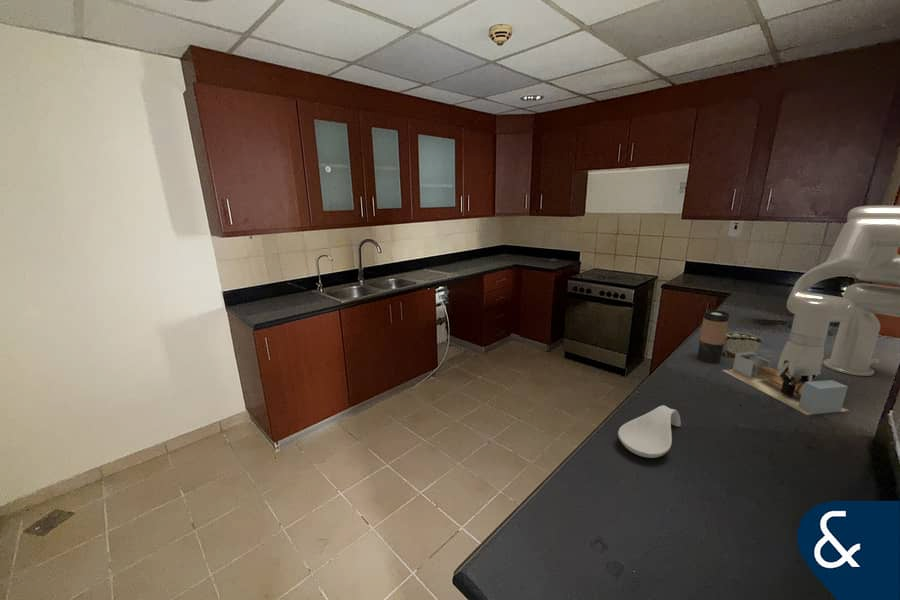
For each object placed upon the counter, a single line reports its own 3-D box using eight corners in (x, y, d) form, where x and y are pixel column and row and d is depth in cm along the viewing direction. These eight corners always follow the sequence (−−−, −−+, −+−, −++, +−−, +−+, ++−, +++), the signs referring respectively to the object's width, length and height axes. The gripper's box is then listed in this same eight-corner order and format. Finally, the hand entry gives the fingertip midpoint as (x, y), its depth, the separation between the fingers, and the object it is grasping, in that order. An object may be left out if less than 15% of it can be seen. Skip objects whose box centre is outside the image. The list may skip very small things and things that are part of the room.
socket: (825, 404, 108) (832, 379, 106) (840, 411, 104) (847, 386, 102) (798, 406, 107) (804, 382, 105) (812, 414, 103) (819, 388, 101)
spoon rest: (656, 473, 84) (660, 446, 82) (608, 448, 93) (610, 423, 91) (693, 432, 98) (697, 409, 97) (648, 414, 107) (651, 392, 105)
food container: (752, 356, 144) (756, 332, 142) (759, 362, 139) (764, 338, 136) (715, 353, 148) (719, 330, 146) (721, 358, 143) (725, 335, 140)
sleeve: (749, 369, 131) (752, 351, 129) (767, 378, 124) (771, 359, 122) (732, 370, 130) (735, 352, 129) (750, 379, 124) (754, 360, 122)
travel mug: (724, 366, 136) (733, 316, 131) (701, 365, 137) (710, 315, 132) (714, 358, 143) (722, 310, 138) (692, 357, 145) (700, 309, 139)
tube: (756, 377, 122) (759, 365, 121) (767, 376, 123) (770, 364, 122) (813, 405, 105) (817, 392, 104) (826, 404, 106) (830, 391, 104)
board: (756, 370, 133) (757, 367, 132) (849, 413, 105) (850, 410, 104) (721, 372, 131) (722, 370, 131) (805, 417, 103) (806, 414, 103)
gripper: (818, 333, 113) (804, 386, 117) (769, 336, 111) (757, 390, 116) (846, 342, 105) (830, 398, 110) (794, 345, 104) (781, 402, 108)
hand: (793, 393), depth 113 cm, fingers closed on tube, 4 cm apart
